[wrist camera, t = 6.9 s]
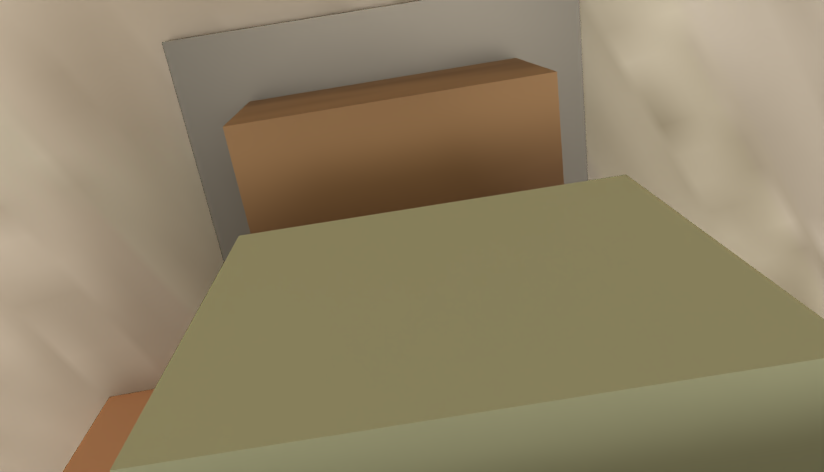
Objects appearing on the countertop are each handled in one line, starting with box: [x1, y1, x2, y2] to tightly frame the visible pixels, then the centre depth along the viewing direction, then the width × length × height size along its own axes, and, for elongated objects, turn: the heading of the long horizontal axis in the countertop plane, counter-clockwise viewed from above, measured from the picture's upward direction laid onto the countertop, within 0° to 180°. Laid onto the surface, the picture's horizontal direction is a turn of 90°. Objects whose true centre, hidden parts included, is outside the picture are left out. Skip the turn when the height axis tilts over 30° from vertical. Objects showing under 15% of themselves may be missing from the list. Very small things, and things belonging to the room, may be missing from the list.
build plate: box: [162, 0, 588, 262], centre depth 20 cm, size 12×12×1 cm
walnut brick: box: [223, 58, 564, 234], centre depth 18 cm, size 8×8×4 cm
